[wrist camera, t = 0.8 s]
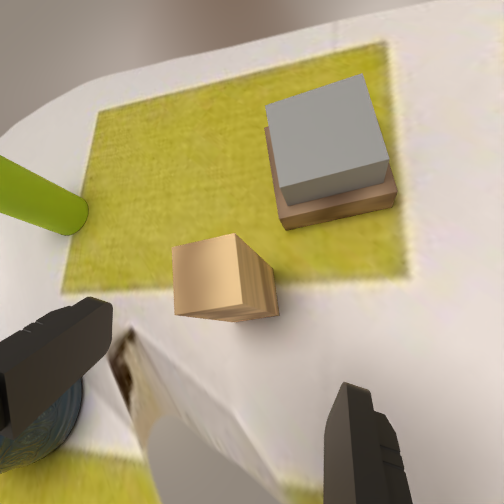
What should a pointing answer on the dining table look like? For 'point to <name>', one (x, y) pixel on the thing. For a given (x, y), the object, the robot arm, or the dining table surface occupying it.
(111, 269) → the dining table surface
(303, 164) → the gray slab
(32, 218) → the soap dispenser
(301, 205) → the walnut slab
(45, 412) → the canister
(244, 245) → the oak pillar
